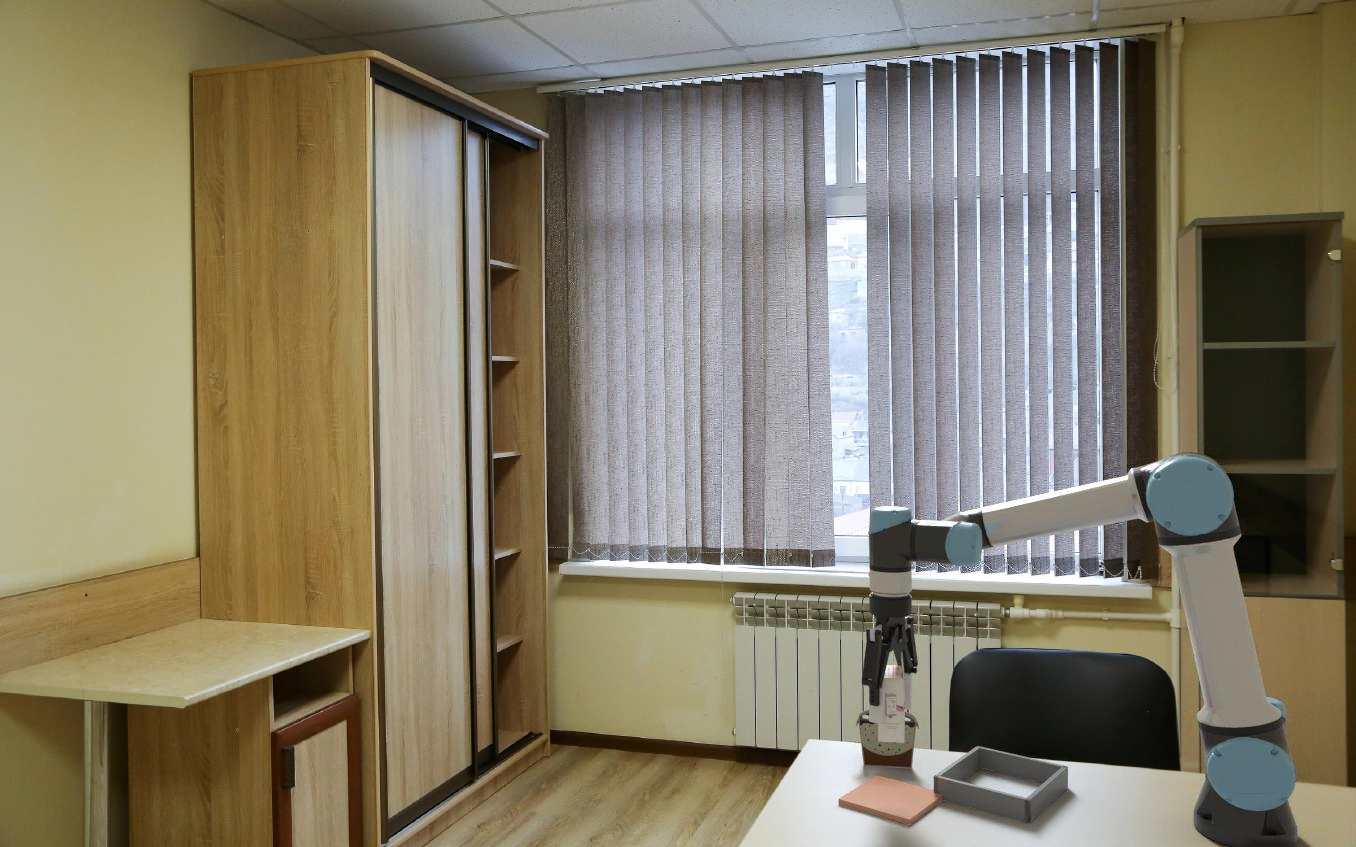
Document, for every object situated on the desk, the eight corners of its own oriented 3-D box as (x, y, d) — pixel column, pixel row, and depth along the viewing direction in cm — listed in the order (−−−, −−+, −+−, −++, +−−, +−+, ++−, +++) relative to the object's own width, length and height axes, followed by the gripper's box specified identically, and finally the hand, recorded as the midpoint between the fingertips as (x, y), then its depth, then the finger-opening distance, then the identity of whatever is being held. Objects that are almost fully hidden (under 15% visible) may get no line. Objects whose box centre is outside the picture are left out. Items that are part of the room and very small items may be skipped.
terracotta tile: (944, 798, 180) (944, 793, 180) (909, 824, 169) (909, 819, 169) (876, 780, 189) (876, 774, 189) (838, 803, 178) (838, 798, 178)
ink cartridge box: (876, 725, 183) (876, 647, 183) (904, 727, 182) (903, 648, 182) (876, 742, 175) (876, 660, 174) (905, 743, 174) (905, 661, 173)
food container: (917, 757, 200) (917, 708, 200) (919, 768, 194) (919, 718, 194) (856, 754, 202) (855, 706, 202) (856, 765, 196) (855, 715, 196)
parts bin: (1067, 787, 184) (1067, 766, 184) (1029, 823, 169) (1029, 800, 169) (977, 765, 195) (977, 745, 195) (933, 797, 180) (933, 775, 180)
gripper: (900, 580, 189) (900, 696, 189) (840, 600, 171) (841, 726, 172) (936, 585, 184) (937, 703, 184) (879, 605, 167) (879, 736, 167)
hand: (890, 714), depth 178 cm, fingers closed on ink cartridge box, 10 cm apart
